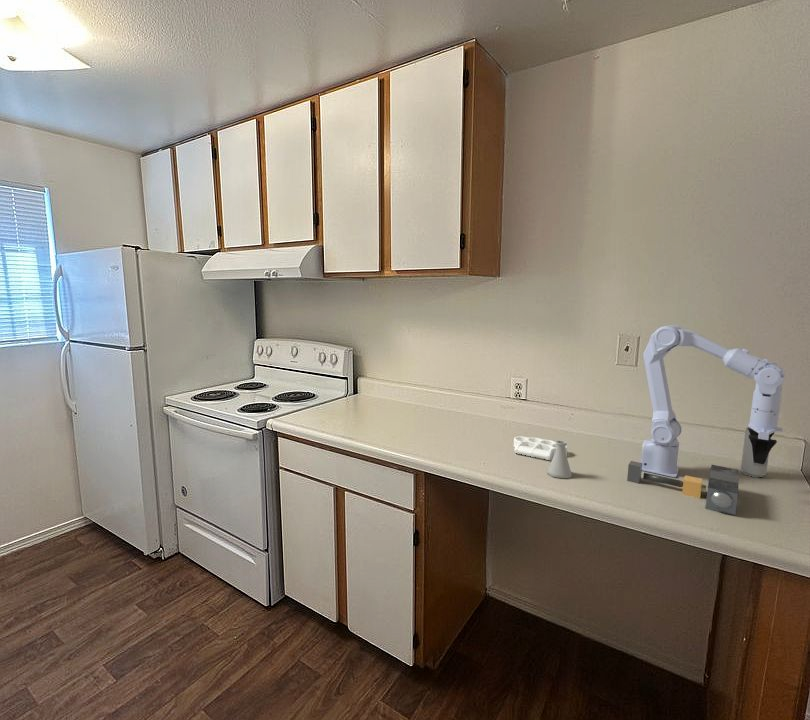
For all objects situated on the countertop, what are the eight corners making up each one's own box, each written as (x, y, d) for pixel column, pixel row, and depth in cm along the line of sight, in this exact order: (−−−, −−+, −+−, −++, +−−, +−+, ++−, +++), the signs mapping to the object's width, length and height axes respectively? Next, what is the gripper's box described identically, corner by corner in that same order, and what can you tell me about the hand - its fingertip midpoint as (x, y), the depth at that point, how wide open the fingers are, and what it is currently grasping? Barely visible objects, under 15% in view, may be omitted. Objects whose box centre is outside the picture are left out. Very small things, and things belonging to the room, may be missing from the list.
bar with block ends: (626, 481, 126) (628, 464, 126) (629, 476, 130) (631, 460, 129) (704, 499, 115) (706, 481, 115) (705, 494, 119) (707, 476, 118)
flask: (543, 469, 135) (545, 437, 133) (567, 469, 134) (569, 438, 133) (550, 479, 128) (552, 445, 126) (575, 479, 127) (578, 446, 126)
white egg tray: (504, 453, 149) (519, 442, 161) (559, 465, 139) (570, 452, 151) (505, 444, 148) (519, 433, 161) (560, 455, 139) (571, 442, 151)
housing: (705, 509, 110) (708, 484, 109) (709, 486, 123) (711, 464, 122) (735, 517, 106) (738, 491, 105) (735, 492, 120) (738, 469, 119)
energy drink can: (754, 470, 135) (760, 422, 133) (771, 478, 129) (777, 428, 127) (735, 470, 135) (741, 423, 133) (751, 478, 129) (757, 428, 127)
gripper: (787, 418, 108) (779, 471, 110) (782, 406, 119) (775, 454, 121) (751, 413, 112) (744, 464, 114) (749, 402, 124) (743, 449, 126)
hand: (758, 458), depth 118 cm, fingers open, 7 cm apart
